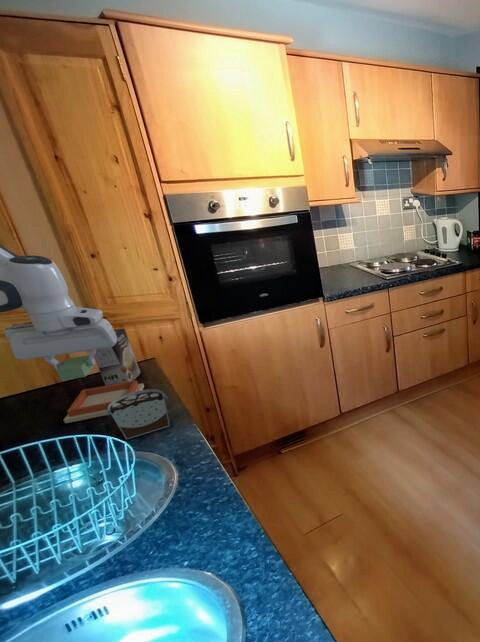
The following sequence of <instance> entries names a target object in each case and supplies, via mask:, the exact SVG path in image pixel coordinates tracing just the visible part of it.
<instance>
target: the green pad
mask: <svg viewBox="0 0 480 642" xmlns="http://www.w3.org/2000/svg"><path fill="white" fill-rule="evenodd" d="M89 357H90V354H87V355H81V356H75V357H69V358H67V359H66V360H65V361H63V362H64V363H63V364H62V366H60V368H59V369H58V370H57V371H56V372H57V373H56V374H57V375H58V377H59V379H60V381H61V382H62V381H63V382H64V381H68V380H75V379H81V378H86V377H87V375H89V373H90V372H91V371H92V369H93V368H94V367H95V365H90V366H87V363H86V362H85V360H86V358H89Z"/></svg>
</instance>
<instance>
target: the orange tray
mask: <svg viewBox="0 0 480 642" xmlns="http://www.w3.org/2000/svg"><path fill="white" fill-rule="evenodd" d="M144 388H145V385H144V383H138V380H136V379H135V380H134V381H130V382H124V383H118V384H113V385H107V386H106V385H102V386H96V387H91V388H85V389H82V390H80V392H79V394H78V395H77V397H76V398H75V399H74V400H73V402H72V403H71V405H70V406H69V408H68V409H67V410H66V413H67V414H66V416H65V417H64V418H63V423H64V424H70V423H75V422H80V421H85V420H88V419H89V420H90V419H94V418H99V417H105V416H108V413H107V409H108V406H109V404H110V403H111V402H113V401H114V400H116V399H117V398H119V397H121V396H124V395H126V394H129V393H132V392H136V391H141V390H144ZM109 416H111V414H110V413H109Z"/></svg>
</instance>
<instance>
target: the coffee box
mask: <svg viewBox="0 0 480 642" xmlns="http://www.w3.org/2000/svg"><path fill="white" fill-rule="evenodd" d="M114 331H115V333H116V336H117V339H118V340H117V342H116V344H115V345H114V346H113V347H109V348H102V349H96V353H95V356H94V359H95V362H96V363H95V364H96V365H97V368H98V370H99V373H100V376H101V378H102V380H103V383H104V386H107V385H113V384H118V383H124V382H130V381H135V380H136V379H137V378H138V377H139V376H140V374H141V370H140V367H139V364H138V362H137V359H136V356H135V354H134V350H133V348H132V345H131V343H130V340H129V337H128V334H127V332H126V329H125V328H116V329H114Z"/></svg>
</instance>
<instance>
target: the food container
mask: <svg viewBox="0 0 480 642" xmlns="http://www.w3.org/2000/svg"><path fill="white" fill-rule="evenodd" d="M165 398H166V399H165ZM168 399H169V398H168V397H167V395H166V394H165V393H164V392H163V391H162V390H160V389H156V388H153V389H152V388H149V389H143V390H141V391H136V392H132V393H129V394H126V395H124V396H121V397H119V398H117V399H116V400H114V401H113V402H111V403H110V404H109V406H108V409H107V413H108V415H107V416H111V417H112V418H113V420H114V421H115V424H116V425H117V427H118V428H119V430H120V432H121V433H122V435H123V436H124V438H125V440H130V439H133V438H136V437H139V436H142V435H146V434H149V433H153V432H156V431H159V430H163V429H165V428H168V427H171V422H170V419H169V414H168V408H167V403H166V400H168ZM109 413H110V415H109Z"/></svg>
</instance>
